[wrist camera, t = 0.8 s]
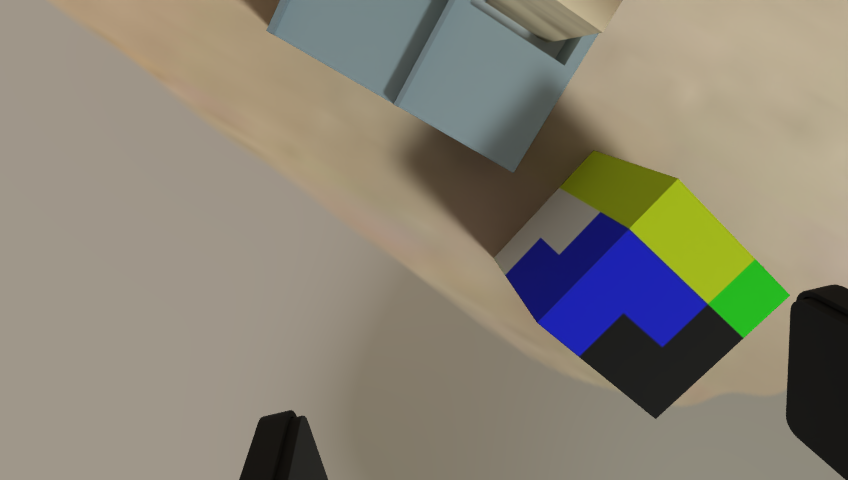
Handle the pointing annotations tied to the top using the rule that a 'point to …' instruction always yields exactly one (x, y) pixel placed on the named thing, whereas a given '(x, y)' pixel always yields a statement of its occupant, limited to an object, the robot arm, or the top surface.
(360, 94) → the top surface
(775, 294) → the puzzle toy
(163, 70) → the top surface
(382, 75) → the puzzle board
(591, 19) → the maple block
